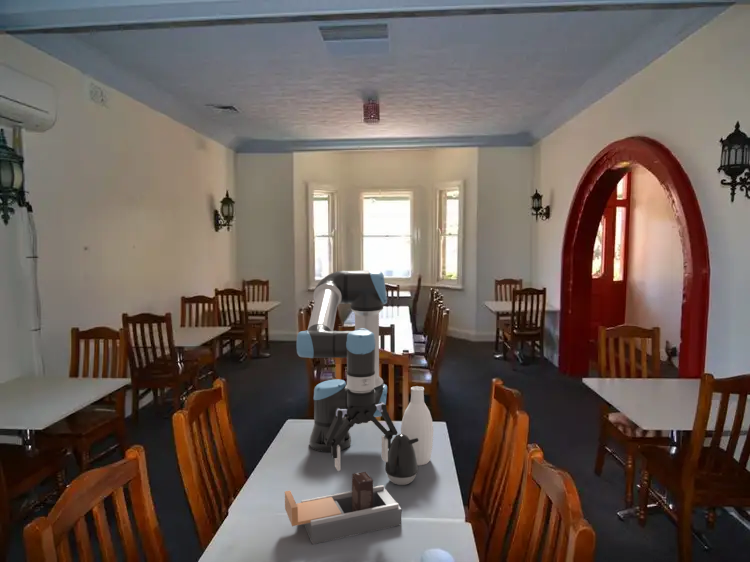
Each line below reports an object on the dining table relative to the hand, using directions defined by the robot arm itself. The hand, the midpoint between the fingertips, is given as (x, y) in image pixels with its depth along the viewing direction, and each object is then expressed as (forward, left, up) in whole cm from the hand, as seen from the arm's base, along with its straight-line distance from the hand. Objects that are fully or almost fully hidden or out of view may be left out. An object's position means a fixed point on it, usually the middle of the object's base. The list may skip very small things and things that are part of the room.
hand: (361, 464), depth 143 cm
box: (0, 0, -16) cm, 16 cm away
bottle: (-28, +30, -16) cm, 43 cm away
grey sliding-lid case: (0, -3, -15) cm, 16 cm away
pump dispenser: (-16, +19, -16) cm, 29 cm away
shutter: (0, -14, -11) cm, 18 cm away
